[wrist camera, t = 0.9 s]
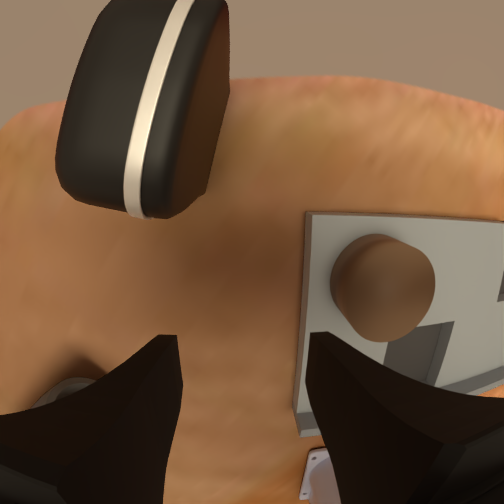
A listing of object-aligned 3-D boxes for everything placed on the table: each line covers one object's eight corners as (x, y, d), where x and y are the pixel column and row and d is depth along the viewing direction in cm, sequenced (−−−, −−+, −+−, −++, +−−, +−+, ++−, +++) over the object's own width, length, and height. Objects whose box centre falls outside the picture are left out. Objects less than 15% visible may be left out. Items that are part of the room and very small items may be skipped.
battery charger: (169, 75, 16) (98, -32, 5) (232, 86, 16) (233, -31, 5) (142, 187, 17) (23, 210, 6) (204, 200, 18) (158, 240, 7)
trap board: (521, 353, 23) (538, 366, 20) (292, 407, 22) (299, 437, 18) (552, 226, 20) (574, 232, 17) (305, 211, 18) (321, 219, 15)
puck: (402, 315, 19) (424, 336, 16) (325, 322, 18) (340, 347, 15) (414, 233, 17) (442, 244, 14) (333, 233, 17) (352, 244, 14)
